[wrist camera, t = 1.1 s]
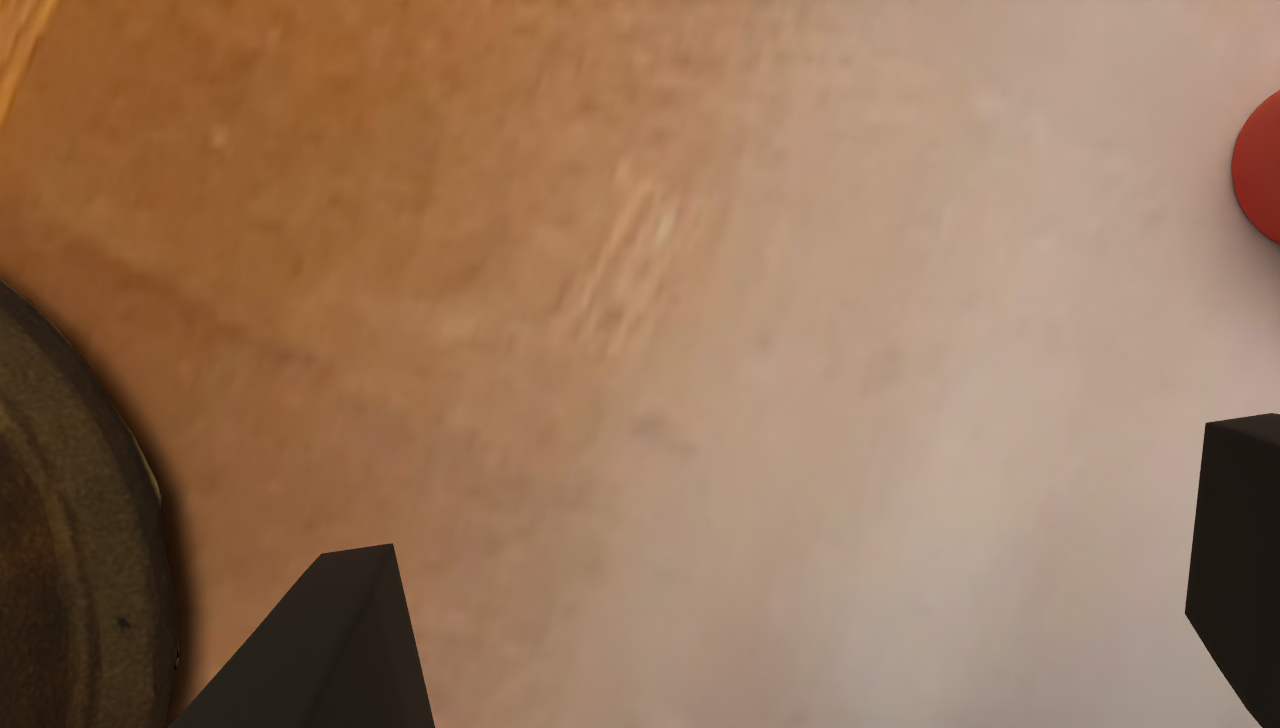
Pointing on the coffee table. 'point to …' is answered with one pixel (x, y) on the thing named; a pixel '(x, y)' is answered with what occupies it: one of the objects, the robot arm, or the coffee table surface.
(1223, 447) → the robot arm
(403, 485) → the coffee table surface
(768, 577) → the coffee table surface
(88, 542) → the bell
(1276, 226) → the red cylinder
